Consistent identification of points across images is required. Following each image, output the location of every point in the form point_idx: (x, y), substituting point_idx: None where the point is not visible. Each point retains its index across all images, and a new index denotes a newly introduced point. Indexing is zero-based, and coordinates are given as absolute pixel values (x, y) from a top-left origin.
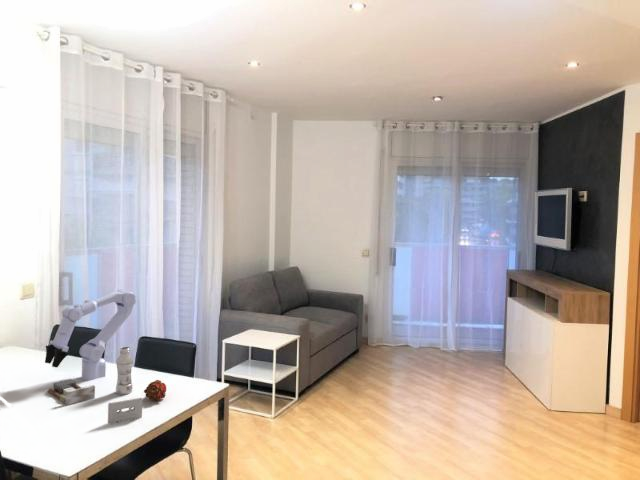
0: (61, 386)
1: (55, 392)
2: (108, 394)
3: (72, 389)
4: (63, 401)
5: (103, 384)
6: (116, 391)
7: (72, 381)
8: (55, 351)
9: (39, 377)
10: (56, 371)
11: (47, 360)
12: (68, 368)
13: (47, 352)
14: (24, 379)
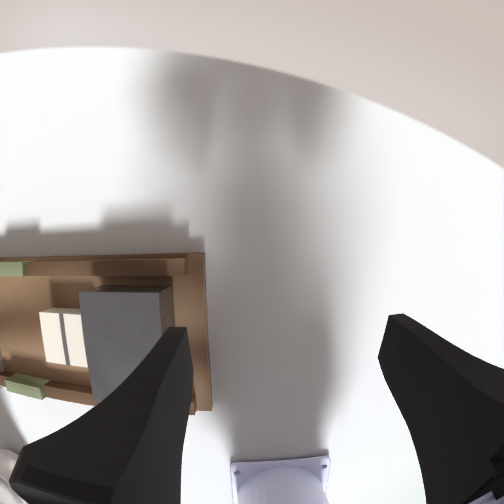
0: (83, 310)
1: (95, 269)
2: None
3: (59, 350)
4: (4, 261)
5: None
6: (5, 454)
7: None
8: (75, 462)
9: (478, 306)
10: None
11: (398, 342)
12: None
13: (462, 377)
14: (491, 240)
